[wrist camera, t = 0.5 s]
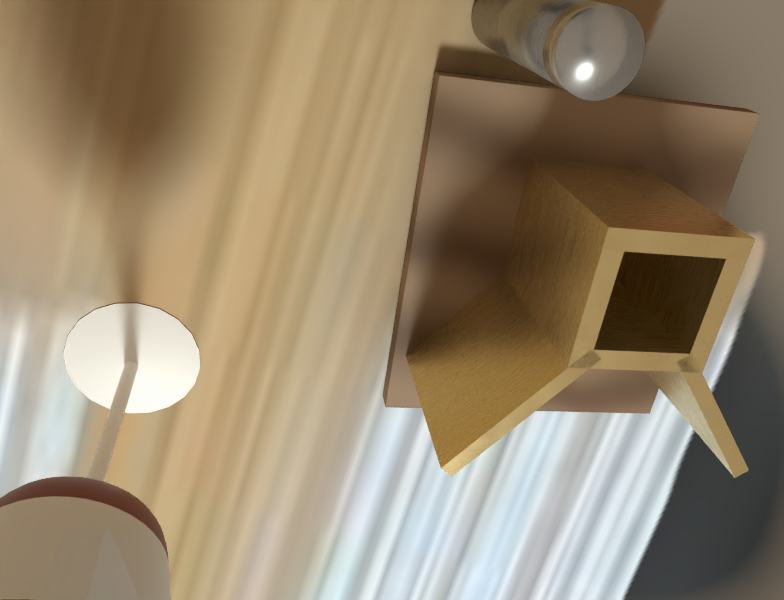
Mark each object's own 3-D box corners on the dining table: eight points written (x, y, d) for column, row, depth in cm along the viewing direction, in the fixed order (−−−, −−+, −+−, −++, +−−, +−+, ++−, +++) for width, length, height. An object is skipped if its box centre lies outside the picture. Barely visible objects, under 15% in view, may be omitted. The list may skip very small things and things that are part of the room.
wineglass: (82, 274, 38) (-77, 569, 21) (232, 335, 41) (204, 637, 24) (32, 385, 41) (-146, 730, 23) (177, 435, 44) (114, 772, 26)
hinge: (441, 148, 37) (494, 218, 28) (724, 176, 40) (852, 246, 31) (404, 363, 42) (439, 476, 34) (654, 372, 46) (745, 477, 37)
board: (434, 71, 36) (439, 75, 35) (746, 108, 39) (759, 113, 38) (383, 395, 45) (385, 407, 44) (641, 402, 48) (649, 413, 47)
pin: (478, -24, 34) (570, -2, 24) (540, -15, 35) (656, 11, 24) (465, 45, 36) (547, 95, 25) (525, 53, 36) (629, 105, 26)
